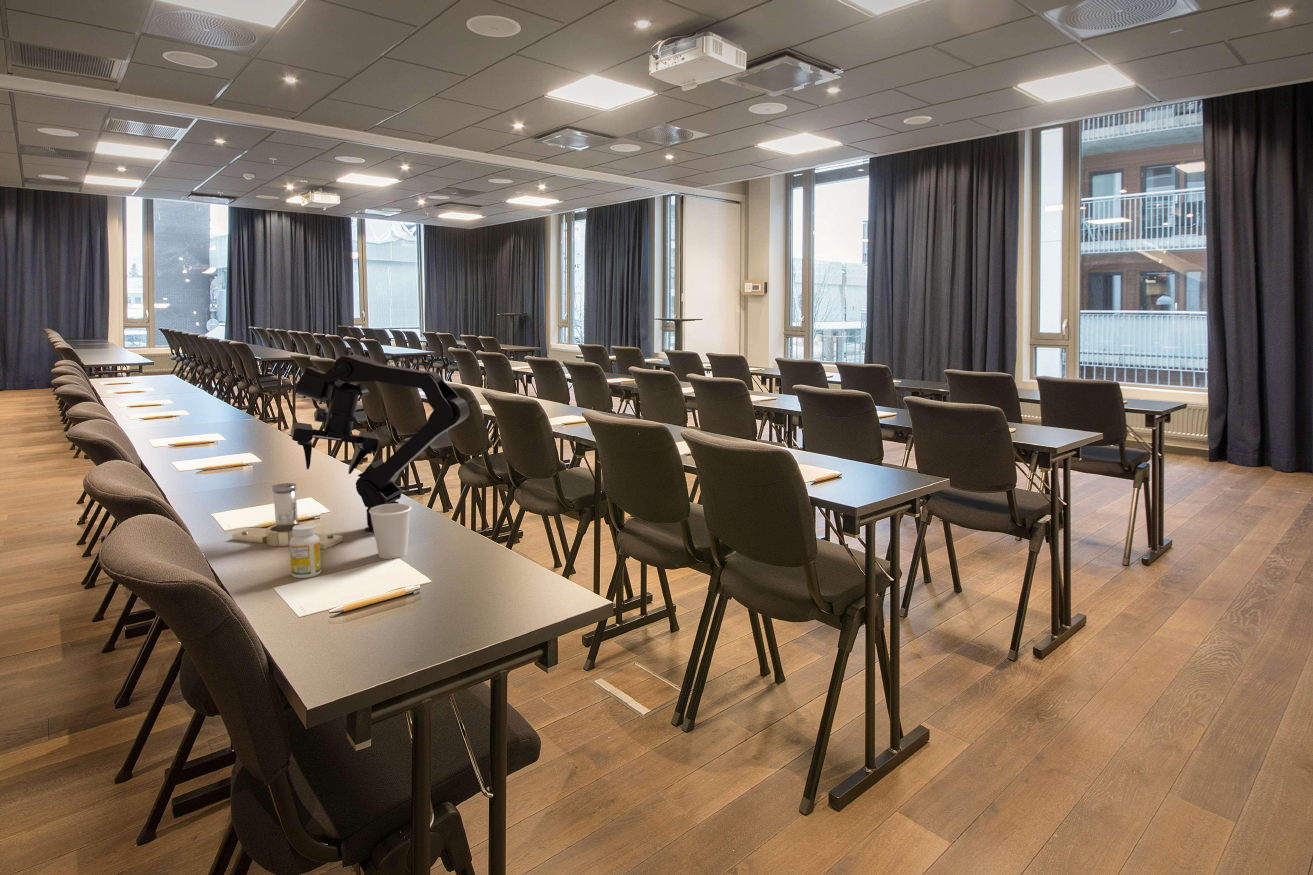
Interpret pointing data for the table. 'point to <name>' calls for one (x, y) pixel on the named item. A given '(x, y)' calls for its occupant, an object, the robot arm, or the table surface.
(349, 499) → the table surface
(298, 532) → the supplement bottle
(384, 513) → the dixie cup
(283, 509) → the grey cylinder
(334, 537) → the hinge
